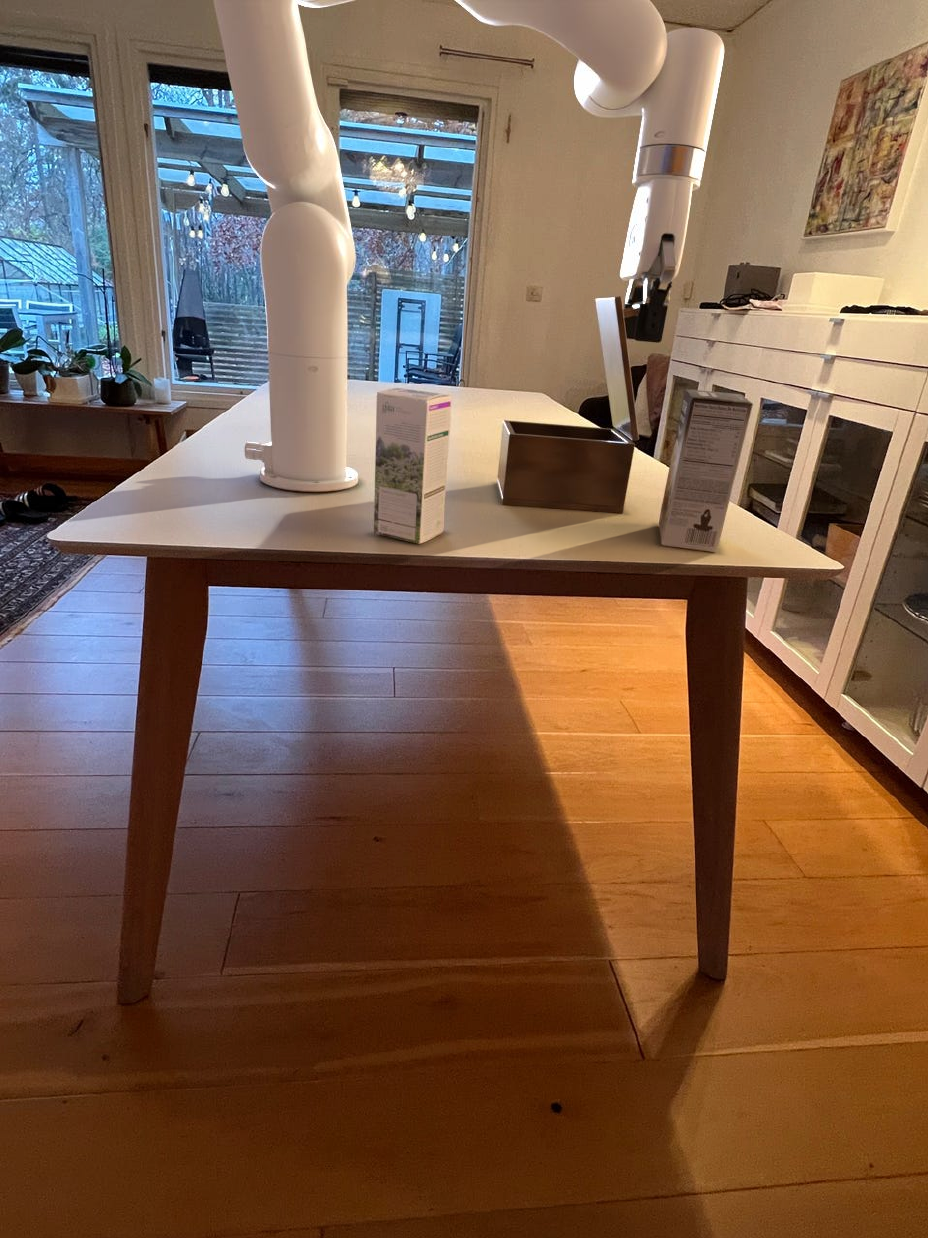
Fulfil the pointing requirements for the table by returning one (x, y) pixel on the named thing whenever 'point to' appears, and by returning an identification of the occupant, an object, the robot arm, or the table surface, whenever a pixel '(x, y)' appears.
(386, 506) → the syrup box
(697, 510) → the coffee box
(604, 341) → the lid
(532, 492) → the brown wooden box
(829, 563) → the table surface
